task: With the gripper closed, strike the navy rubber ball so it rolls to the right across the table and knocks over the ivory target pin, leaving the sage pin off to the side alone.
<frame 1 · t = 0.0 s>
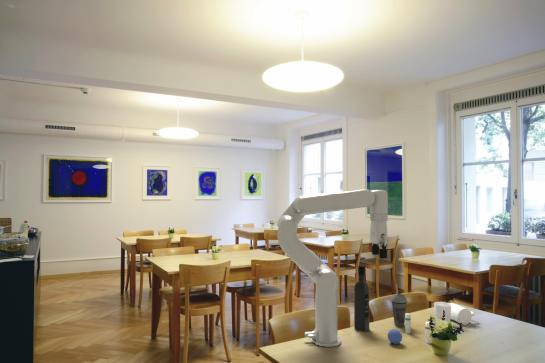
hand: (379, 256, 168), 37 cm above the table, tool pointing down, fingers open, 9 cm apart
target pin: (428, 342, 164), on the table
ball: (394, 336, 163), on the table
white cup: (442, 324, 187), on the table
mug: (461, 321, 192), on the table
beverage cup: (399, 325, 186), on the table
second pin: (408, 332, 176), on the table
wine bottle: (361, 329, 180), on the table
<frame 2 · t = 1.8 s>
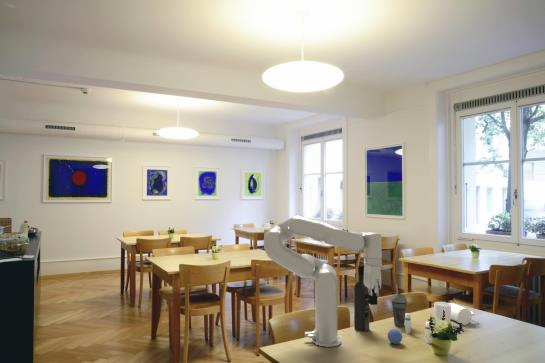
hand: (373, 304, 163), 17 cm above the table, tool pointing down, fingers closed
nothing on the table moved.
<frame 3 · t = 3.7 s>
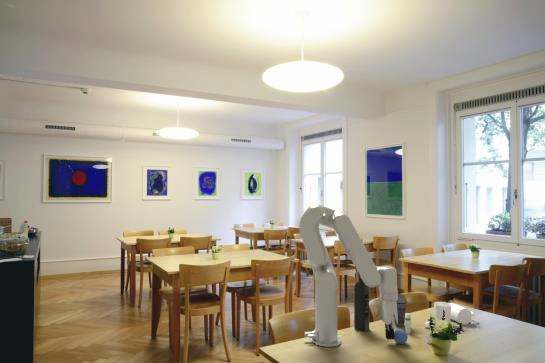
hand: (390, 338, 163), 2 cm above the table, tool pointing down, fingers closed
ball: (400, 336, 163), on the table
everything else where it was.
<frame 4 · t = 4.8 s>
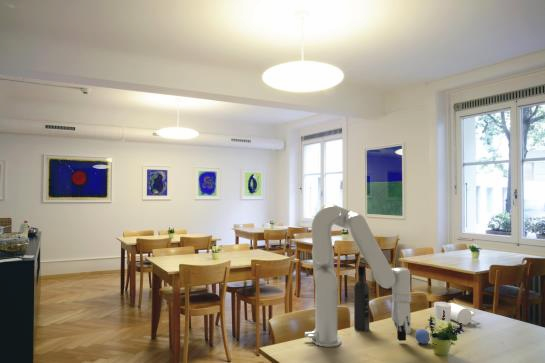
hand: (401, 339, 163), 2 cm above the table, tool pointing down, fingers closed
target pin: (431, 339, 164), point 1 cm above the table, tilted 90°
ball: (422, 336, 163), on the table
everything else where it was.
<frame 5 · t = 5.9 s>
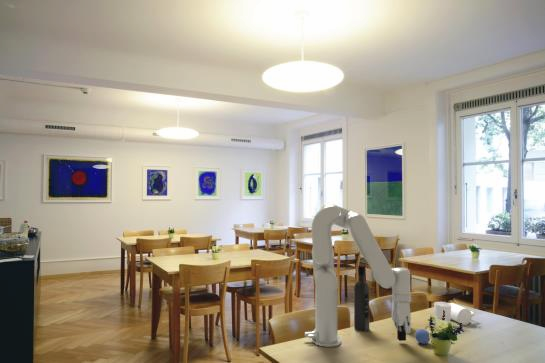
hand: (401, 339, 163), 2 cm above the table, tool pointing down, fingers closed
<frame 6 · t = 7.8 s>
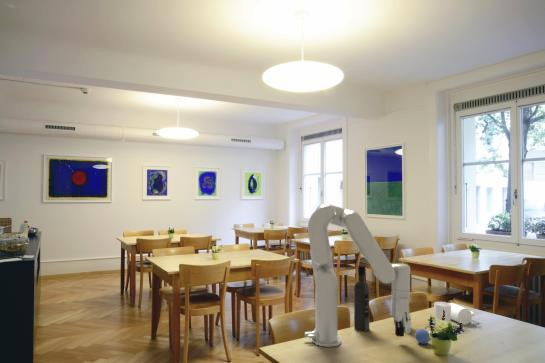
hand: (399, 335, 163), 3 cm above the table, tool pointing down, fingers closed
target pin: (426, 335, 169), point 1 cm above the table, tilted 90°
everything else where it was.
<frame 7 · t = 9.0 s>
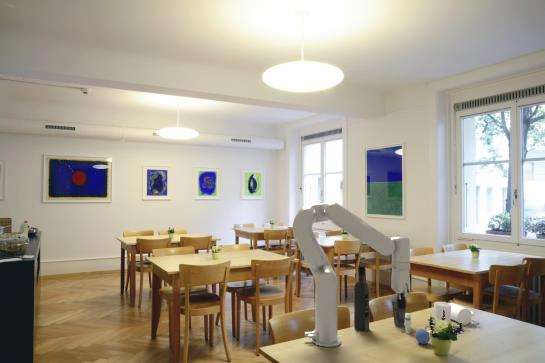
hand: (401, 307, 164), 15 cm above the table, tool pointing down, fingers closed
target pin: (424, 333, 171), point 1 cm above the table, tilted 90°
everything else where it was.
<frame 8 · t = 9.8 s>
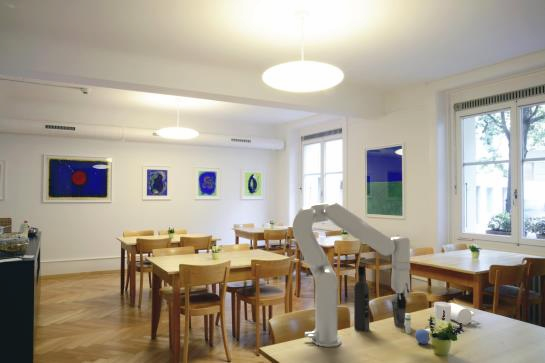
hand: (401, 307, 164), 15 cm above the table, tool pointing down, fingers closed
target pin: (422, 332, 173), point 1 cm above the table, tilted 90°
everything else where it was.
at the end: target pin tilted 90°; target pin never touched the robot; ball moved 12.0 cm from its start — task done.
